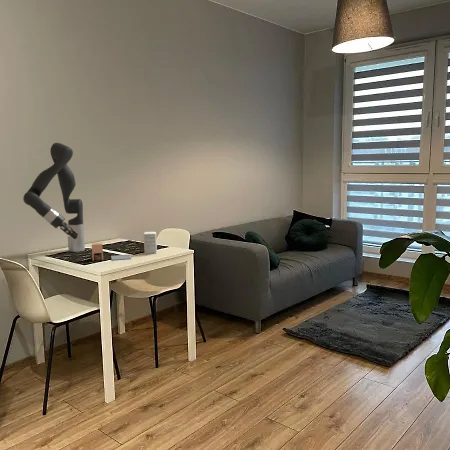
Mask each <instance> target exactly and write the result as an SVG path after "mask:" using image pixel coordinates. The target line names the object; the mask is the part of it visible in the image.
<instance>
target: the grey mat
mask: <svg viewBox="0 0 450 450" xmlns="http://www.w3.org/2000/svg"><path fill="white" fill-rule="evenodd" d="M110 257H111V261H112V262H113V261H122V260H123V261H125V260H132V256H131V254H123V255H122V254H121V255H119V254H118V255H111V256H110Z"/></svg>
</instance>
